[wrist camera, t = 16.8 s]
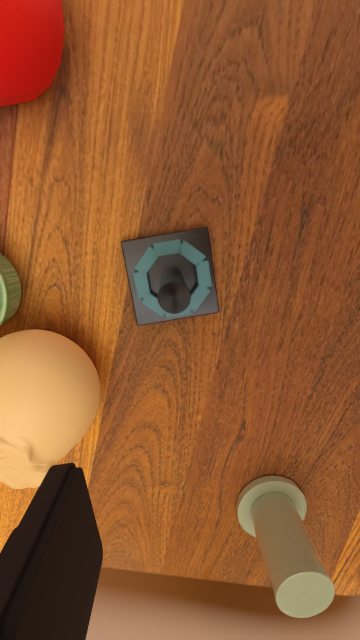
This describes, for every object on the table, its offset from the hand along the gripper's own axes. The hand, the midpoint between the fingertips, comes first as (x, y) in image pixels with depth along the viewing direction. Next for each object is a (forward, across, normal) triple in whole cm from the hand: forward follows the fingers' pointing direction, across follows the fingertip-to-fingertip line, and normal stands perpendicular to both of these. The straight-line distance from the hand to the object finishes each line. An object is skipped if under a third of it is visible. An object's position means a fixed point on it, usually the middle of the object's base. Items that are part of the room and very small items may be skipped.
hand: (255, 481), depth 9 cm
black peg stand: (+24, +2, -4) cm, 24 cm away
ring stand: (+24, -6, +24) cm, 35 cm away
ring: (+23, +2, -3) cm, 23 cm away
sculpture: (+24, +16, +5) cm, 29 cm away
